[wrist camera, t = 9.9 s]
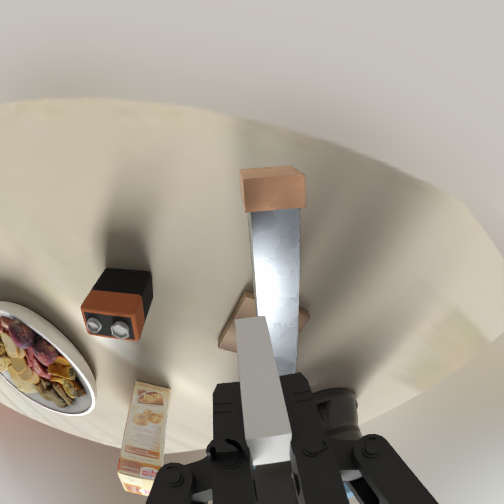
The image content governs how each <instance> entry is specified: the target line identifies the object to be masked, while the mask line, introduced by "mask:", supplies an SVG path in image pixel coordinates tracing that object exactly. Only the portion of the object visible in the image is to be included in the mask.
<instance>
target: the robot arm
mask: <svg viewBox="0 0 504 504" xmlns="http://www.w3.org/2000/svg"><path fill="white" fill-rule="evenodd" d="M235 329H236V341H237V354H238V366H239V377H240V382H232V383H222V384H217V386H216V388H215V390H214V392H213V440H212V441H211V442H210V443H209V445H208V446H207V449H206V454H207V457H205V458H204V459H202V460H199V461H197V462H194V463H190V464H187V465H182V464H180V463H168V464H165V465H164V466H162V467H161V468H160V469H159V470H158V472H157V474H156V477H155V479H154V482H153V485H152V488H151V490H150V493H149V496H148V499H147V501H146V504H208V501H210V500H213V504H349V500H348V499H349V498H351V497H353V496H355V497H356V499H357V500H358V502H359V503H360V504H438V502H437V501H436V500H435V499H434V498H433V496H432V495H431V494H430V493H429V491H428V490H427V489H426V488H425V487H424V486H423V484H422V483H421V482H420V481H419V480H418V478H417V477H416V476H415V475H414V473H413V472H412V471H411V470H410V468H409V467H408V466H407V465H406V464H405V462H404V461H403V460H402V459H401V457H400V456H399V455H398V454H397V453H396V451H395V450H394V449H393V448H392V446H391V445H390V444H389V443H388V441H387V440H386V439H385V438H383V437H382V436H380V435H376V434H368V435H365V436H363V437H362V434H361V432H360V429H359V427H358V415H357V407H358V403H357V400H356V397H355V395H354V393H353V392H352V391H350V390H348V389H342V388H337V389H329V390H325V391H321V392H318V393H315V394H313V395H312V392H311V389H310V386H309V383H308V380H307V379H306V378H305V377H304V376H303V375H302V374H301V373H300V372H299V373H293V374H288V375H281V376H279V374H278V370H277V365H276V361H275V356H274V352H273V348H272V343H271V339H270V334H269V330H268V325H267V321H266V316H258V317H250V318H242V319H235Z"/></svg>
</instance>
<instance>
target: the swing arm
mask: <svg viewBox="0 0 504 504" xmlns="http://www.w3.org/2000/svg"><path fill="white" fill-rule="evenodd" d="M239 172H240V183H241V195H242V201H243V204H244V208H245V212H246V213H248V226H249V238H250V250H251V263H252V275H253V287H254V300H255V312H256V317H258V316H266V321H267V325H268V330H269V334H270V339H271V343H272V348H273V352H274V356H275V361H276V365H277V370H278V374H279V376H281V375H288V374H293V373H296V360H297V340H298V315H299V275H300V208H304V207H306V199H305V174H303V173H302V172H300V171H298V170H297V169H295V168H293V167H292V166H281V167H266V168H253V169H241V170H239Z"/></svg>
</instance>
